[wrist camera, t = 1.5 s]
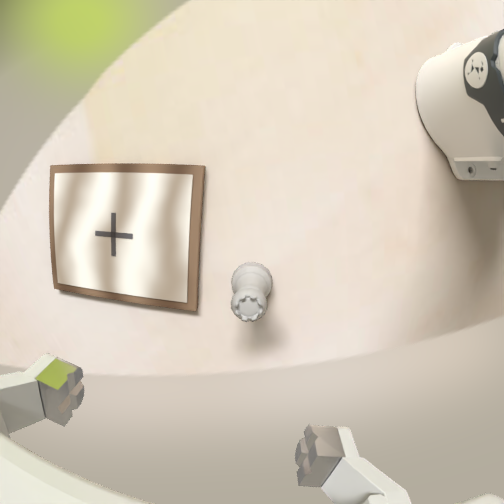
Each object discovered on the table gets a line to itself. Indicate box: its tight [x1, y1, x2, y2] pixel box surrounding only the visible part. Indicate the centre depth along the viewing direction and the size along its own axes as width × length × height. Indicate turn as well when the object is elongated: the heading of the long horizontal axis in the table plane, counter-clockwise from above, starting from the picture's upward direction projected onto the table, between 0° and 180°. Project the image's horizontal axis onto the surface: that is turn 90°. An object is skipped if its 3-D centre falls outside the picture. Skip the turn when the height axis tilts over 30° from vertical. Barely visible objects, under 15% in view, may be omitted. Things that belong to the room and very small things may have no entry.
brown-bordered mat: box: [49, 164, 205, 311], centre depth 33 cm, size 20×16×1 cm
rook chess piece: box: [231, 262, 272, 322], centre depth 31 cm, size 4×4×8 cm
